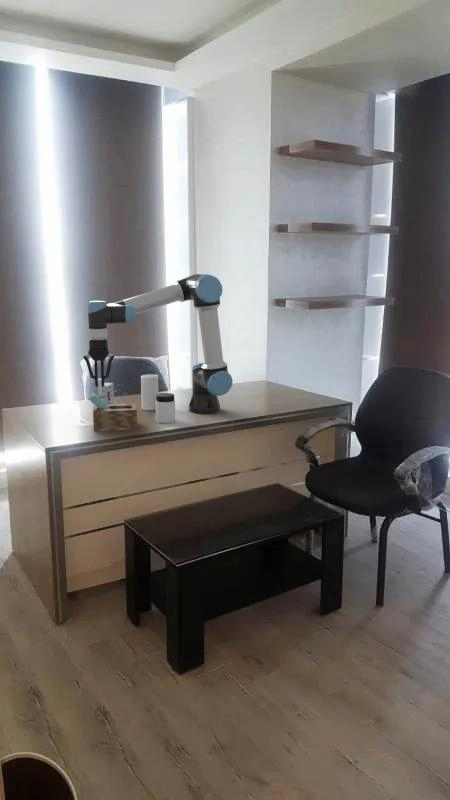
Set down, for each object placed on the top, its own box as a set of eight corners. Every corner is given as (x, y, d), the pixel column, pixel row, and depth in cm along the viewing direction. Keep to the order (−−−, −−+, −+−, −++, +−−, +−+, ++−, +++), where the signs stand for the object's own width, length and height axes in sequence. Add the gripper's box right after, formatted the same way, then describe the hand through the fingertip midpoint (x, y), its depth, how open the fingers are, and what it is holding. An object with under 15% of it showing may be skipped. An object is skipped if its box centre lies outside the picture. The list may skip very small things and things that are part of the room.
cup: (161, 407, 300) (161, 375, 297) (152, 410, 293) (152, 377, 290) (147, 405, 304) (146, 373, 300) (138, 409, 296) (137, 376, 293)
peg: (122, 417, 264) (95, 392, 260) (120, 421, 262) (92, 396, 257) (117, 421, 266) (90, 396, 261) (114, 425, 263) (87, 400, 258)
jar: (166, 417, 281) (165, 391, 278) (178, 420, 276) (178, 394, 273) (151, 421, 274) (151, 394, 271) (164, 424, 269) (164, 397, 266)
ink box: (107, 410, 294) (107, 385, 291) (98, 409, 294) (97, 385, 292) (114, 406, 302) (113, 382, 299) (105, 405, 303) (104, 382, 300)
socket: (135, 422, 271) (135, 403, 270) (137, 429, 260) (136, 409, 258) (93, 423, 268) (93, 404, 266) (93, 431, 256) (93, 411, 254)
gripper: (113, 337, 259) (115, 392, 264) (82, 337, 257) (84, 392, 262) (114, 339, 252) (115, 395, 257) (81, 339, 250) (84, 396, 255)
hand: (100, 394), depth 260 cm, fingers closed
